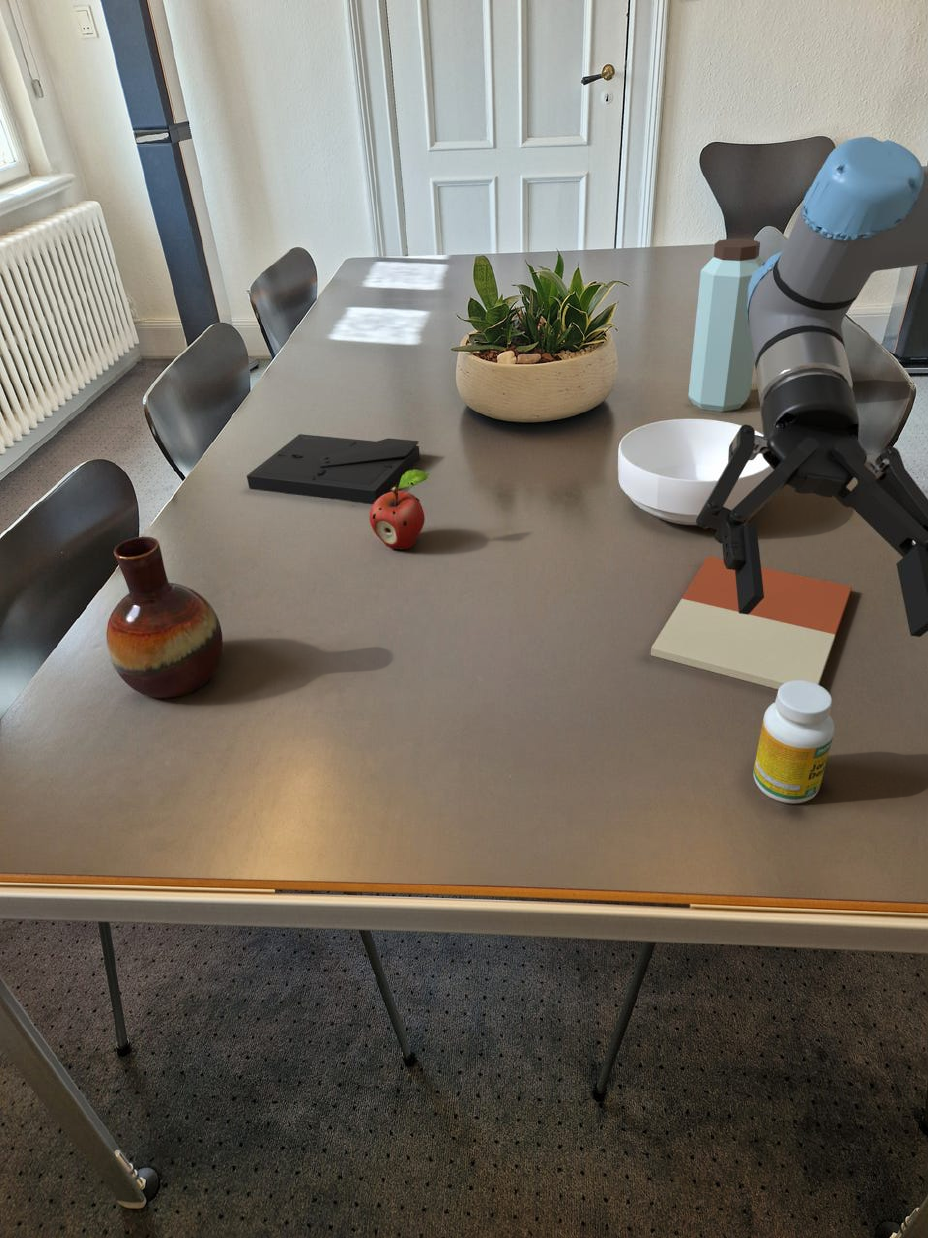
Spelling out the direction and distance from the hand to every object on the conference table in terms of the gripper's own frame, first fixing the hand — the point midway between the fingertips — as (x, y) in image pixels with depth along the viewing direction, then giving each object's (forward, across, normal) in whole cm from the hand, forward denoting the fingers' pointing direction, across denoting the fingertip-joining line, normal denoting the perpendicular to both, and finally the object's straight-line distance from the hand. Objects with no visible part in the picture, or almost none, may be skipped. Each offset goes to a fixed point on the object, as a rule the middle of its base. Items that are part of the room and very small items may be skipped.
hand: (839, 617), depth 63 cm
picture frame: (-46, +44, -53) cm, 83 cm away
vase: (-3, +54, -33) cm, 64 cm away
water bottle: (-70, -16, -51) cm, 88 cm away
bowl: (-36, -4, -37) cm, 52 cm away
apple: (-27, +33, -40) cm, 59 cm away
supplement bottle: (+8, -2, -14) cm, 17 cm away
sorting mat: (-13, -5, -24) cm, 28 cm away
